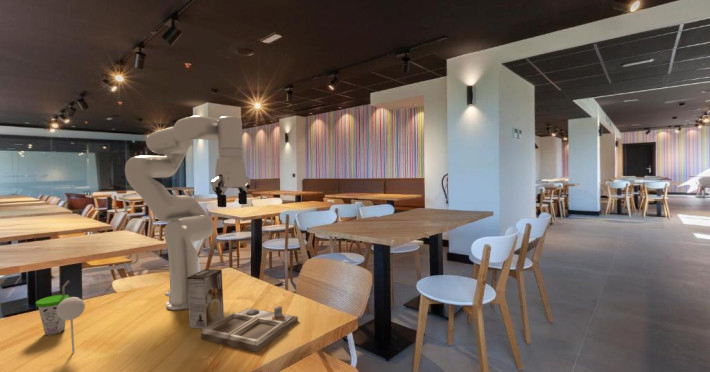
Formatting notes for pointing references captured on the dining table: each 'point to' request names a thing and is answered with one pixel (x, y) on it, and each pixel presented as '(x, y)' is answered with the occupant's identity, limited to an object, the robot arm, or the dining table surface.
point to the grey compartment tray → (249, 328)
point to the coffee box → (205, 298)
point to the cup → (52, 312)
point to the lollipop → (70, 311)
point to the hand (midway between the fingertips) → (232, 205)
